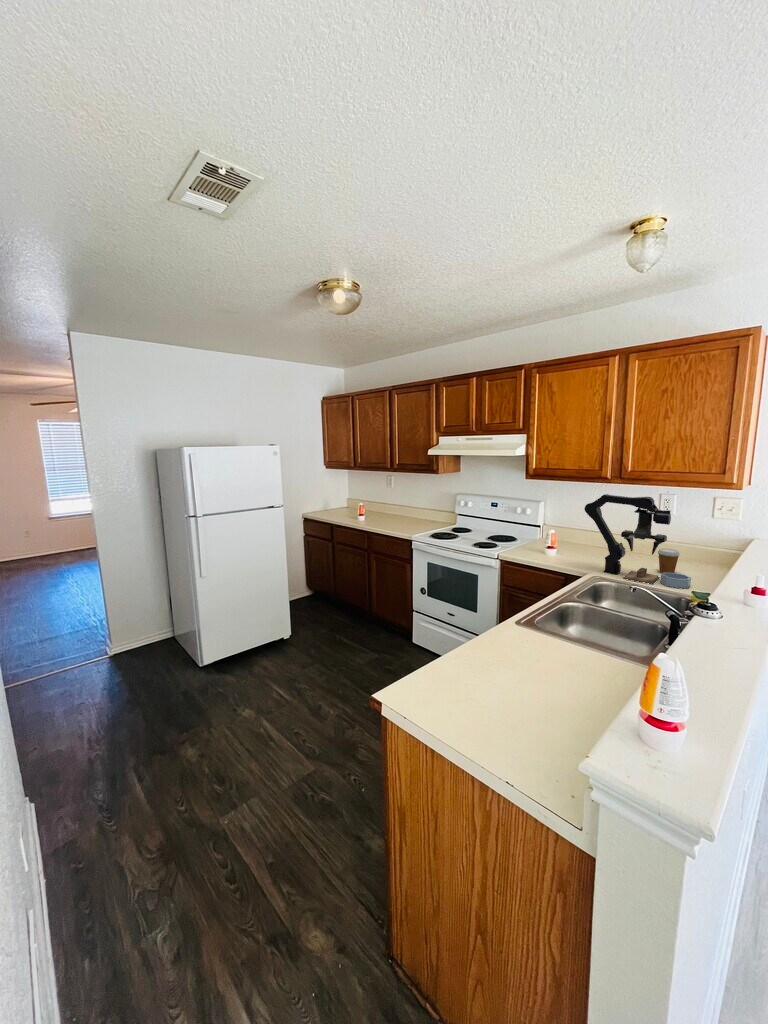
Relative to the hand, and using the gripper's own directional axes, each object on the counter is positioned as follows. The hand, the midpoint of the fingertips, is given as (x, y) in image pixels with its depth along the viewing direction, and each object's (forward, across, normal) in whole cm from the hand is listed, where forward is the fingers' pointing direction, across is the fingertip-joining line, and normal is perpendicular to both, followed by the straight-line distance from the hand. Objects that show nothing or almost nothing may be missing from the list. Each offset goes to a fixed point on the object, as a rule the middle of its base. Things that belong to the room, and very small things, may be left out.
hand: (641, 552), depth 208 cm
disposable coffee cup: (+13, +8, +18) cm, 23 cm away
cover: (+12, +1, -2) cm, 12 cm away
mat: (+13, +1, -2) cm, 13 cm away
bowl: (+13, +15, -2) cm, 20 cm away
